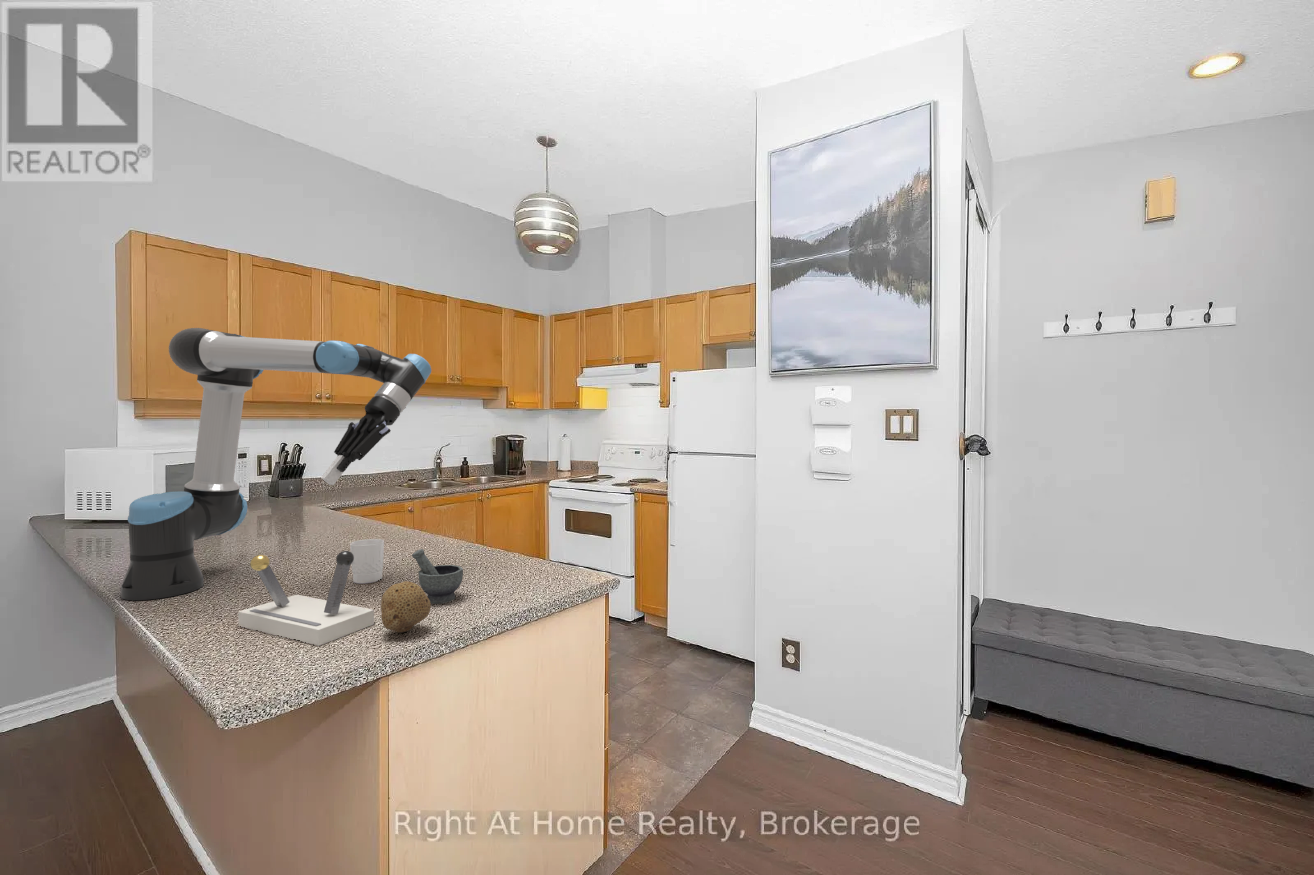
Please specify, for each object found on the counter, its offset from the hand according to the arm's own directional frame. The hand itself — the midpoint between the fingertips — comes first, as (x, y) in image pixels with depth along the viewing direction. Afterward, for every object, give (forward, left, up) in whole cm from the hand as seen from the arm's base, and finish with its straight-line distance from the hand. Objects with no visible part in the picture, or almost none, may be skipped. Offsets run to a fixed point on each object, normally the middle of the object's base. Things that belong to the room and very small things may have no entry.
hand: (327, 481), depth 127 cm
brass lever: (+9, -7, -25) cm, 27 cm away
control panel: (+14, -2, -28) cm, 31 cm away
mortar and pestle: (+6, +23, -28) cm, 37 cm away
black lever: (+19, +3, -25) cm, 31 cm away
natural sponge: (+25, +17, -28) cm, 41 cm away
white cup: (-17, +6, -28) cm, 33 cm away
